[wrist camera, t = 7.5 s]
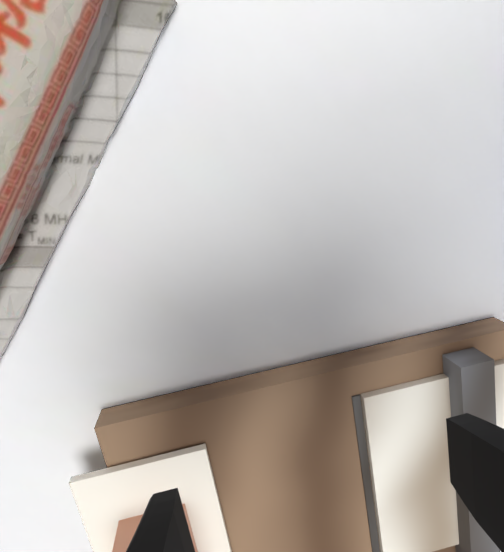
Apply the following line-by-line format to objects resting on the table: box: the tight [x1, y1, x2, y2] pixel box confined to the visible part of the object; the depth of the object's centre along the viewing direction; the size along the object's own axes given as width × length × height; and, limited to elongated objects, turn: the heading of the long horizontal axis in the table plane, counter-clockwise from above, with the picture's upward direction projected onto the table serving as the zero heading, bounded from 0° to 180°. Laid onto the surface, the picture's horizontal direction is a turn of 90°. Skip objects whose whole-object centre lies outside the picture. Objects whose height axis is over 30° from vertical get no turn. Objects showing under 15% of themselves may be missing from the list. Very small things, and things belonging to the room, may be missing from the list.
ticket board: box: [94, 317, 504, 552], centre depth 20 cm, size 20×13×3 cm, turn 100°
